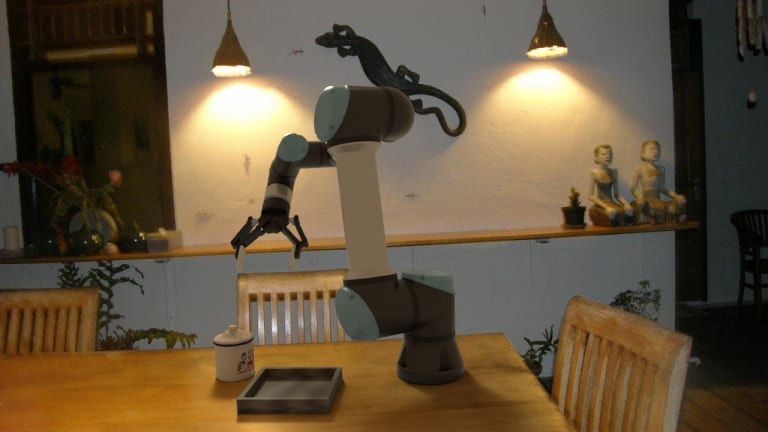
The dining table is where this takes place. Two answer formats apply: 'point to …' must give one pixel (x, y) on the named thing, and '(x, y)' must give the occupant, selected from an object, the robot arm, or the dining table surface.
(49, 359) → the dining table surface
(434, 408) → the dining table surface
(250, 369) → the teacup with lid
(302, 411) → the tea tray
